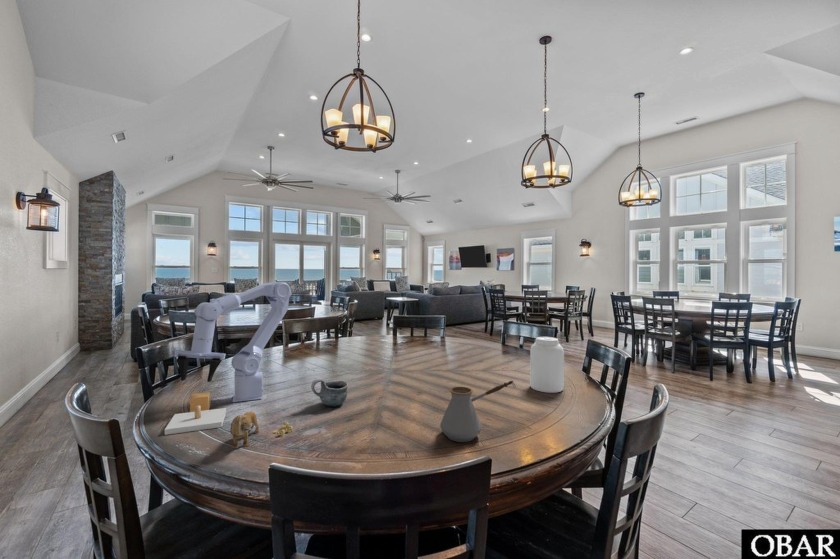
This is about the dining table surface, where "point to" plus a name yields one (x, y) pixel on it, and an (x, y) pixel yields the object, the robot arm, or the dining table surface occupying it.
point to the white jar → (547, 365)
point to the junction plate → (196, 420)
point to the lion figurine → (243, 427)
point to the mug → (331, 391)
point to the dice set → (284, 427)
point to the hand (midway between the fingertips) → (196, 380)
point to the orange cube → (200, 401)
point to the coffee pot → (464, 414)
